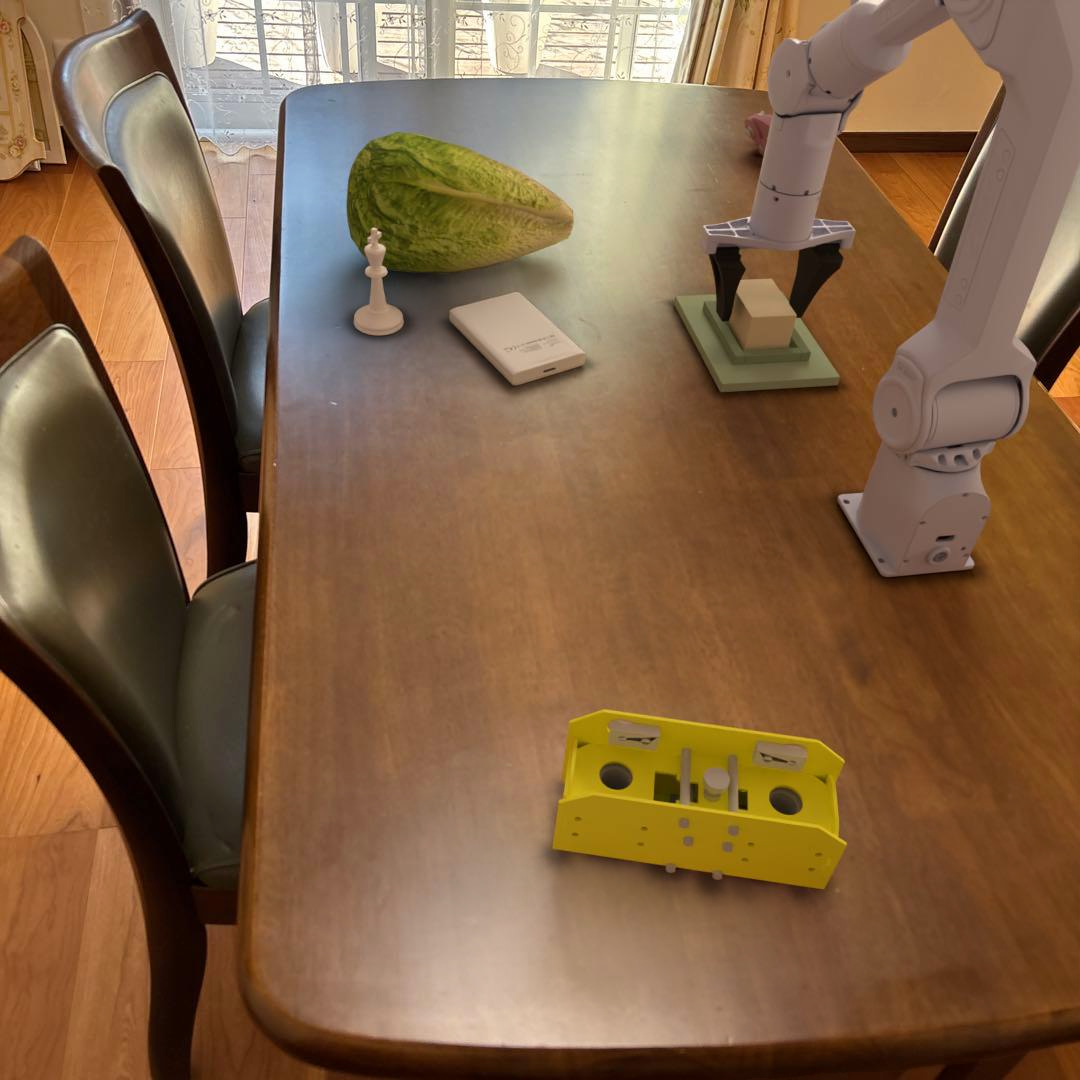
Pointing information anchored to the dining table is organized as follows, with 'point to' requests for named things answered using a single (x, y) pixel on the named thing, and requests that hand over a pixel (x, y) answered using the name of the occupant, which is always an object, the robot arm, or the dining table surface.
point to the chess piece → (377, 295)
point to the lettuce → (448, 206)
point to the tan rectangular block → (761, 316)
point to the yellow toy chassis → (700, 798)
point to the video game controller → (759, 129)
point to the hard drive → (516, 338)
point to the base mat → (753, 353)
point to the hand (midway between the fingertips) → (759, 314)
